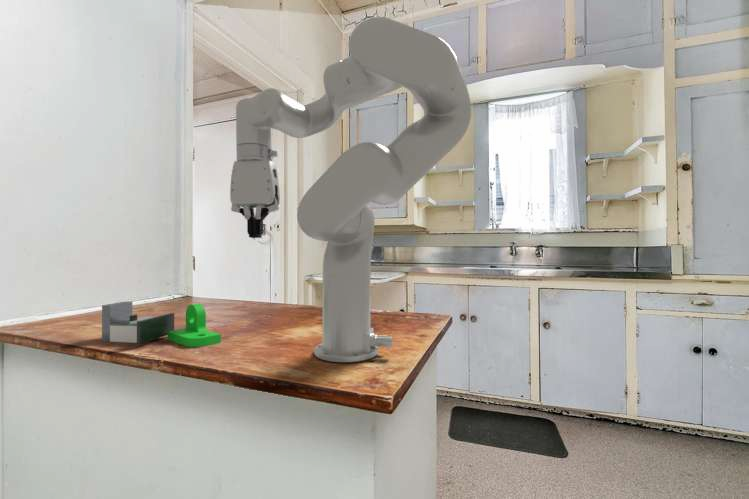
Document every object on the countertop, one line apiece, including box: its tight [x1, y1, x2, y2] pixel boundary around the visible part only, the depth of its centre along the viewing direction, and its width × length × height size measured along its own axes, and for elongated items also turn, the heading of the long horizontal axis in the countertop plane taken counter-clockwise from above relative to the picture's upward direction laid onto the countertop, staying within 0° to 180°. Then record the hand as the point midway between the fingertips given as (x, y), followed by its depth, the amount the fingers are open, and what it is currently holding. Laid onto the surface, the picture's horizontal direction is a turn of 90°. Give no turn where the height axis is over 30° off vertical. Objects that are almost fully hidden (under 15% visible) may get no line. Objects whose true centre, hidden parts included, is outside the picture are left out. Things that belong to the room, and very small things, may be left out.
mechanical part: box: [167, 302, 222, 348], centre depth 77 cm, size 12×6×8 cm, turn 53°
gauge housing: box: [101, 301, 137, 344], centre depth 79 cm, size 9×6×8 cm, turn 82°
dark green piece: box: [130, 312, 175, 345], centre depth 77 cm, size 7×10×5 cm, turn 172°
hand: (255, 237), depth 78 cm, fingers closed
